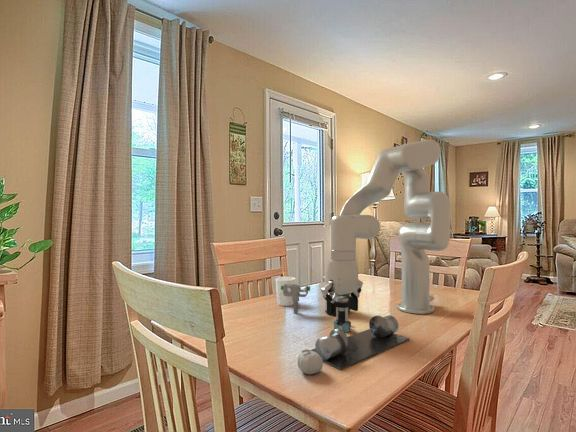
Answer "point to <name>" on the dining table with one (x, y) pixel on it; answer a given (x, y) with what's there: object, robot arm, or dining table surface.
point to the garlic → (309, 362)
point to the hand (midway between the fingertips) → (342, 312)
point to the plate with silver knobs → (359, 343)
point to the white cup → (281, 298)
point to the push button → (342, 314)
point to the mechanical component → (294, 293)
